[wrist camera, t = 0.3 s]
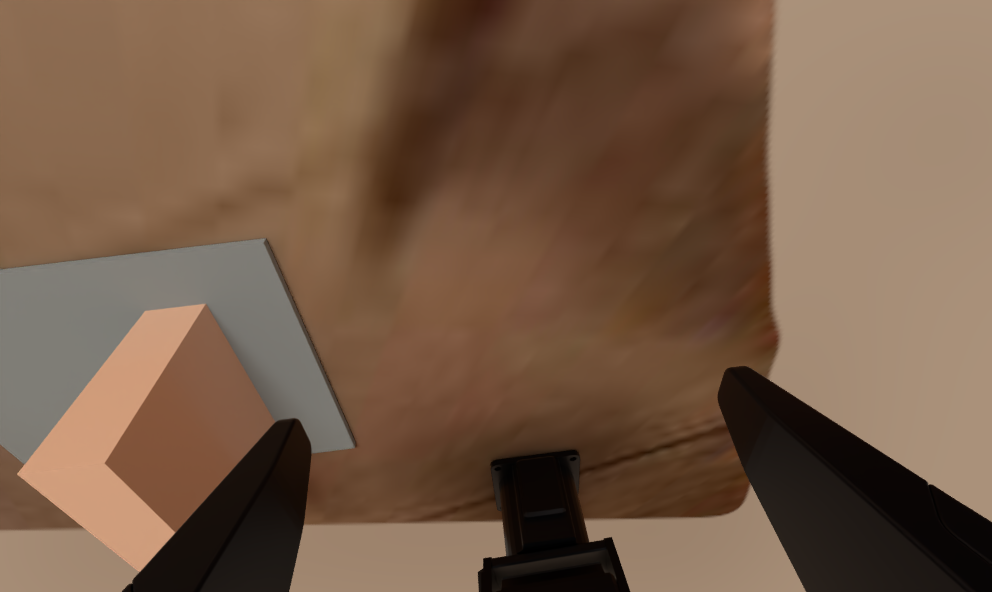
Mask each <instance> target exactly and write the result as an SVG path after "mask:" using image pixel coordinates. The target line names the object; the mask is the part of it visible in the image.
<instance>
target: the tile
mask: <svg viewBox="0 0 992 592" xmlns="http://www.w3.org/2000/svg"><path fill="white" fill-rule="evenodd" d="M274 423H275V421H274V419H273V418H272V416H271V414H270V412H269V411H268V409H267V407H266V406H265V404H264V402H263V400H262V399H261V397H260V395H259V394H258V392H257V390H256V388H255V387H254V385H253V383H252V382H251V380H250V378H249V377H248V375H247V373H246V371H245V370H244V368H243V366H242V365H241V363H240V361H239V359H238V358H237V356H236V354H235V353H234V351H233V349H232V347H231V346H230V344H229V342H228V341H227V339H226V337H225V336H224V334H223V332H222V330H221V329H220V327H219V325H218V324H217V322H216V320H215V318H214V317H213V315H212V313H211V312H210V310H209V308H208V306H207V305H206V304H199V305H191V306H183V307H174V308H166V309H158V310H149V311H145V312H144V313H143V314H142V316H141V317H140V318H139V319H138V321H137V322H136V323H135V325H134V326H133V327H132V328H131V330H130V331H129V332H128V334H127V335H126V336H125V337H124V339H123V340H122V341H121V342H120V344H119V345H118V346H117V348H116V349H115V350H114V351H113V353H112V354H111V355H110V356H109V358H108V359H107V360H106V362H105V363H104V364H103V365H102V367H101V368H100V369H99V371H98V372H97V373H96V374H95V376H94V377H93V378H92V379H91V381H90V382H89V383H88V385H87V386H86V387H85V388H84V390H83V391H82V392H81V393H80V395H79V396H78V397H77V399H76V400H75V401H74V402H73V404H72V405H71V406H70V408H69V409H68V410H67V411H66V413H65V414H64V415H63V416H62V418H61V419H60V420H59V422H58V423H57V424H56V425H55V427H54V428H53V429H52V430H51V432H50V433H49V434H48V436H47V437H46V438H45V439H44V441H43V442H42V443H41V445H40V446H39V447H38V448H37V450H36V451H35V452H34V453H33V455H32V456H31V457H30V459H29V460H28V461H27V462H26V464H25V465H24V466H23V467H22V469H21V470H20V471H19V473H18V474H17V475H19V476H20V477H21V478H22V479H24V480H25V481H26V482H27V483H29V484H30V485H31V486H32V487H34V488H35V489H36V490H37V491H39V492H40V493H41V494H42V495H44V496H45V497H46V498H47V499H49V500H50V501H51V502H52V503H54V504H55V505H56V506H57V507H59V508H60V509H61V510H62V511H64V512H65V513H66V514H67V515H69V516H70V517H71V518H72V519H74V520H75V521H76V522H77V523H79V524H80V525H81V526H82V527H84V528H85V529H86V530H87V531H89V532H90V533H91V534H92V535H94V536H95V537H96V538H97V539H99V540H100V541H101V542H102V543H104V544H105V545H106V546H107V547H109V548H110V549H111V550H113V551H114V552H115V553H116V554H117V555H119V556H120V557H121V558H122V559H124V560H125V561H126V562H127V563H129V564H130V565H131V566H132V567H134V568H135V569H136V570H137V571H139V572H140V571H141V570H142V569H143V568H144V567H145V566H146V565H147V563H148V562H149V561H150V560H151V559H152V558H153V557H154V556H155V555H156V553H157V552H158V551H159V550H160V549H161V548H162V547H163V546H164V545H165V543H166V542H167V541H168V540H169V539H170V538H171V537H172V536H173V535H174V533H175V532H176V531H177V530H178V529H179V528H180V527H181V526H182V525H183V523H184V522H185V521H186V520H187V519H188V518H189V517H190V516H191V515H192V513H193V512H194V511H195V510H196V509H197V508H198V507H199V506H200V505H201V504H202V502H203V501H204V500H205V499H206V498H207V497H208V496H209V495H210V494H211V492H212V491H213V490H214V489H215V488H216V487H217V486H218V485H219V484H220V482H221V481H222V480H223V479H224V478H225V477H226V476H227V475H228V474H229V472H230V471H231V470H232V469H233V468H234V467H235V466H236V465H237V464H238V462H239V461H240V460H241V459H242V458H243V457H244V456H245V455H246V454H247V452H248V451H249V450H250V449H251V448H252V447H253V446H254V445H255V444H256V443H257V441H258V440H259V439H260V438H261V437H262V436H263V435H264V434H265V433H266V431H267V430H268V429H269V428H270V427H271V426H272V425H273V424H274Z"/></svg>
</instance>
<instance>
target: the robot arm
mask: <svg viewBox="0 0 992 592" xmlns="http://www.w3.org/2000/svg"><path fill="white" fill-rule="evenodd" d="M718 403H719V406H720V409H721V412H722V414H723V417H724V419H725V422H726V425H727V427H728V430H729V433H730V435H731V438H732V440H733V443H734V446H735V448H736V451H737V453H738V456H739V459H740V461H741V464H742V466H743V468H744V471H745V473H746V475H747V477H748V479H749V481H750V483H751V485H752V487H753V489H754V491H755V493H756V495H757V497H758V499H759V500H760V502H761V505H762V506H763V508H764V510H765V512H766V514H767V516H768V518H769V520H770V522H771V524H772V526H773V528H774V530H775V532H776V534H777V536H778V538H779V540H780V542H781V544H782V546H783V547H784V549H785V551H786V553H787V555H788V557H789V559H790V561H791V563H792V565H793V567H794V569H795V571H796V573H797V575H798V577H799V579H800V581H801V583H802V585H803V586H804V588H805V590H806V592H992V522H991V521H989V520H988V519H986V518H984V517H983V516H981V515H979V514H978V513H976V512H975V511H973V510H972V509H970V508H968V507H967V506H965V505H963V504H962V503H960V502H959V501H957V500H955V499H954V498H952V497H951V496H949V495H948V494H946V493H944V492H943V491H941V490H940V489H938V488H937V487H935V486H934V485H931V484H930V485H928V482H927V481H926V480H924V479H922V478H921V477H919V476H918V475H916V474H915V473H913V472H912V471H910V470H909V469H907V468H905V467H904V466H902V465H901V464H899V463H898V462H896V461H894V460H893V459H891V458H890V457H888V456H887V455H885V454H883V453H882V452H880V451H879V450H877V449H876V448H874V447H873V446H871V445H870V444H868V443H866V442H864V441H863V440H862V439H860V438H859V437H857V436H856V435H854V434H852V433H851V432H849V431H848V430H846V429H845V428H843V427H841V426H840V425H838V424H837V423H835V422H834V421H832V420H830V419H829V418H827V417H826V416H824V415H823V414H821V413H819V412H818V411H817V410H815V409H813V408H812V407H810V406H809V405H807V404H806V403H804V402H802V401H801V400H799V399H798V398H796V397H795V396H793V395H792V394H790V393H789V392H787V391H785V390H784V389H782V388H780V387H779V386H777V385H776V384H774V383H773V382H771V381H770V380H768V379H767V378H765V377H764V376H762V375H760V374H759V373H757V372H756V371H754V370H753V369H751V368H749V367H747V366H739V367H730V368H727V369H726V370H725V372H724V375H723V378H722V381H721V385H720V388H719V391H718ZM311 454H312V448H311V442H310V440H309V438H308V436H307V434H306V432H305V430H304V428H303V426H302V424H301V422H300V420H299V419H297V418H290V419H281V420H278V421H276V422H275V423H274V424H273V425H272V426H271V427H270V428H269V429H268V430H267V431H266V433H265V434H264V435H263V436H262V437H261V438H260V439H259V440H258V441H257V443H256V444H255V445H254V446H253V447H252V448H251V449H250V450H249V451H248V452H247V454H246V455H245V456H244V457H243V458H242V459H241V460H240V461H239V462H238V464H237V465H236V466H235V467H234V468H233V469H232V470H231V471H230V472H229V474H228V475H227V476H226V477H225V478H224V479H223V480H222V481H221V482H220V484H219V485H218V486H217V487H216V488H215V489H214V490H213V491H212V492H211V494H210V495H209V496H208V497H207V498H206V499H205V500H204V501H203V502H202V504H201V505H200V506H199V507H198V508H197V509H196V510H195V511H194V512H193V513H192V515H191V516H190V517H189V518H188V519H187V520H186V521H185V522H184V523H183V525H182V526H181V527H180V528H179V529H178V530H177V531H176V532H175V533H174V535H173V536H172V537H171V538H170V539H169V540H168V541H167V542H166V543H165V545H164V546H163V547H162V548H161V549H160V550H159V551H158V552H157V553H156V555H155V556H154V557H153V558H152V559H151V560H150V561H149V562H148V563H147V565H146V566H145V567H144V568H143V569H142V570H141V571H140V572H139V574H138V575H137V576H136V577H135V578H134V579H133V581H132V584H129V585H127V587H126V588H125V589H124V590H123V591H122V592H289V589H290V585H291V581H292V576H293V572H294V567H295V563H296V558H297V553H298V549H299V544H300V540H301V535H302V530H303V525H304V518H305V510H306V501H307V491H308V482H309V473H310V463H311ZM579 468H580V457H579V453H578V451H575V450H571V451H563V452H555V453H547V454H540V455H532V456H524V457H516V458H509V459H501V460H495V461H493V462H491V473H492V479H493V486H494V492H495V499H496V505H497V510H499V511H502V519H503V528H504V538H505V548H506V556H504V557H498V558H491V557H489V558H484V559H483V569H482V570H480V571H479V572H478V583H479V592H630V590H629V587H628V584H627V581H626V578H625V575H624V572H623V569H622V566H621V563H620V560H619V557H618V554H617V551H616V548H615V545H614V542H613V540H612V537H609V538H604V540H601V541H595V542H589V539H588V535H587V531H586V527H585V522H584V518H583V514H582V510H581V506H580V502H579V498H578V490H579Z"/></svg>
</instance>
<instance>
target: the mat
mask: <svg viewBox="0 0 992 592" xmlns="http://www.w3.org/2000/svg"><path fill="white" fill-rule="evenodd" d="M199 304H206V305H207V306H208V308H209V310H210V312H211V313H212V315H213V317H214V318H215V320H216V322H217V324H218V325H219V327H220V329H221V330H222V332H223V334H224V336H225V337H226V339H227V341H228V342H229V344H230V346H231V347H232V349H233V351H234V353H235V354H236V356H237V358H238V359H239V361H240V363H241V365H242V366H243V368H244V370H245V371H246V373H247V375H248V377H249V378H250V380H251V382H252V383H253V385H254V387H255V388H256V390H257V392H258V394H259V395H260V397H261V399H262V400H263V402H264V404H265V406H266V407H267V409H268V411H269V412H270V414H271V416H272V418H273V419H274V421H275V422H276V421H278V420H281V419H290V418H297V419H299V420H300V422H301V424H302V426H303V428H304V430H305V432H306V434H307V436H308V438H309V440H310V442H311V448H312V453H319V452H327V451H335V450H343V449H351V448H355V444H356V442H355V440H354V438H353V436H352V433H351V431H350V429H349V426H348V424H347V422H346V420H345V417H344V415H343V413H342V410H341V408H340V406H339V404H338V401H337V399H336V397H335V394H334V392H333V390H332V388H331V385H330V383H329V381H328V379H327V376H326V374H325V372H324V369H323V367H322V365H321V363H320V360H319V358H318V356H317V353H316V351H315V349H314V347H313V344H312V342H311V340H310V337H309V335H308V333H307V331H306V328H305V326H304V324H303V322H302V319H301V317H300V315H299V312H298V310H297V308H296V306H295V303H294V301H293V299H292V296H291V294H290V292H289V290H288V287H287V285H286V283H285V280H284V278H283V276H282V274H281V271H280V269H279V267H278V265H277V262H276V260H275V258H274V255H273V253H272V251H271V249H270V246H269V244H268V242H267V239H266V238H264V239H256V240H247V241H239V242H230V243H222V244H213V245H205V246H196V247H188V248H179V249H171V250H162V251H154V252H145V253H137V254H128V255H120V256H111V257H103V258H94V259H85V260H77V261H68V262H60V263H51V264H43V265H34V266H26V267H17V268H9V269H0V445H2V446H3V447H4V448H5V449H6V450H8V451H9V452H10V453H11V454H12V455H14V456H15V457H16V458H17V459H18V460H20V461H21V462H22V463H23V464H24V465H25V464H26V462H27V461H28V460H29V459H30V457H31V456H32V455H33V453H34V452H35V451H36V450H37V448H38V447H39V446H40V445H41V443H42V442H43V441H44V439H45V438H46V437H47V436H48V434H49V433H50V432H51V430H52V429H53V428H54V427H55V425H56V424H57V423H58V422H59V420H60V419H61V418H62V416H63V415H64V414H65V413H66V411H67V410H68V409H69V408H70V406H71V405H72V404H73V402H74V401H75V400H76V399H77V397H78V396H79V395H80V393H81V392H82V391H83V390H84V388H85V387H86V386H87V385H88V383H89V382H90V381H91V379H92V378H93V377H94V376H95V374H96V373H97V372H98V371H99V369H100V368H101V367H102V365H103V364H104V363H105V362H106V360H107V359H108V358H109V356H110V355H111V354H112V353H113V351H114V350H115V349H116V348H117V346H118V345H119V344H120V342H121V341H122V340H123V339H124V337H125V336H126V335H127V334H128V332H129V331H130V330H131V328H132V327H133V326H134V325H135V323H136V322H137V321H138V319H139V318H140V317H141V316H142V314H143V313H144V312H145V311H149V310H158V309H166V308H174V307H183V306H191V305H199Z"/></svg>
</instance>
